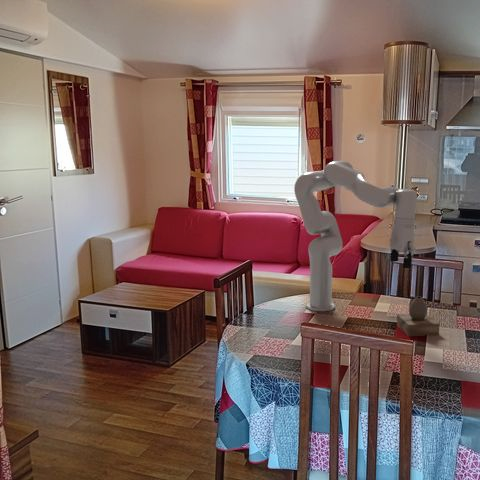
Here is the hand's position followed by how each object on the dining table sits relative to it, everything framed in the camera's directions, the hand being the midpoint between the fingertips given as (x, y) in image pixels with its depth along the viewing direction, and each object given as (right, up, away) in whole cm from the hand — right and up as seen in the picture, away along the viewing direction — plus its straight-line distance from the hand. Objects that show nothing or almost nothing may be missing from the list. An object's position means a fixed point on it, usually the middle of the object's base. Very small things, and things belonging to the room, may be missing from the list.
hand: (400, 264), depth 212 cm
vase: (+7, -21, 0) cm, 22 cm away
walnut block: (+7, -26, 0) cm, 27 cm away
